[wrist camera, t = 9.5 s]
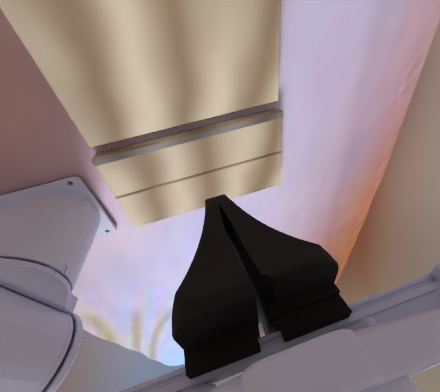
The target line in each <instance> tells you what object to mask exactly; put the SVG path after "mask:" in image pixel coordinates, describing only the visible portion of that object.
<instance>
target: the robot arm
mask: <svg viewBox="0 0 440 392" xmlns="http://www.w3.org/2000/svg"><path fill="white" fill-rule="evenodd" d="M69 181H71V182H72V183H73V184H70V183H69ZM107 229H108V230H107ZM116 229H117V228H116V226H115V224H114V223H113V222H112V220H111V219H110V218H109V216H108V215H107V213H106V212H105V211H104V209H103V208H102V207H101V205H100V204H99V202H98V201H97V200H96V198H95V197H94V196H93V194H92V193H91V191H90V190H89V189H88V187H87V186H86V185H85V183H84V182H83V181H82V179H81V178H80V177H77V176H73V177H69V178H65V179H62V180H58V181H54V182H50V183H46V184H43V185H39V186H35V187H31V188H27V189H24V190H20V191H16V192H12V193H8V194H4V195H1V196H0V392H55V391H56V390H57V388H58V387H59V386H60V384H61V383H62V381H63V379H64V378H65V377H66V375H67V373H68V371H69V370H70V368H71V366H72V364H73V362H74V360H75V357H76V355H77V352H78V349H79V346H80V343H81V338H82V332H83V325H82V321H81V319H80V317H79V316H78V315H77V314H74V313H73V310H74V308H75V305H76V303H77V300H78V298H77V297H75V296H74V295H73V294H72V290H73V288H74V285H75V283H76V281H77V278H78V276H79V274H80V271H81V269H82V266H83V264H84V262H85V259H86V257H87V255H88V252H89V250H90V247H91V245H92V243H93V240H94V238H96V237H100V236H103V235H106V234H110V233H113V232H115V231H116ZM338 267H339V266H338V263H337V262H336V261H335V260H334V259H333V258H332V256H331V255H330V254H329V253H328V252H327V251H325V250H324V249H323V248H322V247H321V246H320V245H318V244H315V243H311V242H308V241H304V240H301V239H298V238H295V237H292V236H289V235H287V234H284V233H282V232H280V231H277V230H275V229H273V228H271V227H269V226H267V225H265V224H263V223H262V222H260V221H258V220H257V219H255V218H253V217H252V216H250V215H249V214H248V213H246V212H245V211H243V210H242V209H241V208H240V207H238V206H237V205H236V204H235V203H234V202H233V201H231V200H230V199H229V198H228V197H227V196H226V195H225V194H222V195H219V196H216V197H212V198H209V199H206V200H205V219H204V226H203V231H202V235H201V239H200V242H199V245H198V248H197V251H196V254H195V256H194V259H193V261H192V263H191V265H190V268H189V270H188V272H187V274H186V276H185V278H184V280H183V281H182V283H181V285H180V287H179V288H178V290H177V292H176V294H175V298H174V303H173V311H172V336H173V338H174V340H175V341H176V342H177V343H178V344H179V345H180V346H181V347H182V348H183V349H184V356H185V367H183V368H180V369H177V370H175V371H172V372H169V373H167V374H164V375H161V376H159V377H156V378H154V379H151V380H148V381H146V382H143V383H140V384H138V385H135V386H133V387H130V388H127V389H125V390H122V391H120V392H421V391H420V390H419V389H418V387H417V386H416V385H415V383H414V382H413V381H412V380H411V378H410V377H411V376H414V375H416V374H418V373H421V372H423V371H425V370H427V369H429V368H432V367H434V366H436V365H438V364H440V262H439V263H438V264H436V265H435V266H434V267H433V268H432V269H431V270H430V271H429V274H426V275H423V276H421V277H418V278H415V279H413V280H410V281H407V282H405V283H402V284H400V285H397V286H394V287H392V288H389V289H387V290H384V291H381V292H379V293H376V294H373V295H371V296H368V297H366V298H363V299H360V300H358V301H355V302H352V303H350V304H346V303H345V301H344V300H343V299H342V298H341V296H340V295H339V293H340V291H339V289H338V288H337V286H336V285H335V284H334V281H335V278H336V276H337V273H338ZM258 315H259V318H260V321H261V324H262V327H263V330H264V333H265V336H264V337H261V338H260V333H259V326H258V323H259V319H258ZM243 371H244V372H243ZM240 372H243V374H241V375H239V376H237V377H235V378H233V379H231V380H229V381H227V382H225V383H223V384H221V385H219V386H217V387H216V385H215V384H212V383H214V382H217V381H220V380H222V379H225V378H227V377H230V376H233V375H235V374H238V373H240Z"/></svg>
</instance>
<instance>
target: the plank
mask: <svg viewBox="0 0 440 392" xmlns="http://www.w3.org/2000/svg"><path fill="white" fill-rule="evenodd" d="M0 9H1V10H2V12H3V13H4V15H5V16H6V18H7V19H8V21H9V23H10V24H11V26H12V27H13V29H14V30H15V32H16V33H17V35H18V37H19V38H20V40H21V41H22V43H23V44H24V46H25V47H26V49H27V51H28V52H29V54H30V55H31V57H32V58H33V60H34V61H35V63H36V65H37V66H38V68H39V69H40V71H41V72H42V74H43V75H44V77H45V79H46V80H47V82H48V83H49V85H50V86H51V88H52V89H53V91H54V93H55V94H56V96H57V97H58V99H59V100H60V102H61V103H62V105H63V107H64V108H65V110H66V111H67V113H68V114H69V116H70V118H71V119H72V121H73V122H74V124H75V125H76V127H77V128H78V130H79V132H80V133H81V135H82V136H83V138H84V139H85V141H86V142H87V144H88V146H89V147H90V148H91V147H95V146H99V145H103V144H107V143H111V142H115V141H119V140H123V139H127V138H131V137H135V136H139V135H143V134H147V133H151V132H155V131H159V130H163V129H167V128H171V127H175V126H179V125H183V124H187V123H191V122H195V121H199V120H203V119H207V118H211V117H215V116H219V115H223V114H227V113H231V112H235V111H239V110H243V109H247V108H251V107H255V106H259V105H263V104H267V103H271V102H275V101H278V87H279V50H280V12H281V0H0Z"/></svg>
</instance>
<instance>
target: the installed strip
mask: <svg viewBox="0 0 440 392" xmlns="http://www.w3.org/2000/svg"><path fill="white" fill-rule="evenodd" d="M282 118H283V111H282V110H279V109H276V108H275V109H271V110H267V111H263V112H259V113H255V114H251V115H247V116H243V117H239V118H235V119H231V120H228V121H224V122H220V123H216V124H212V125H208V126H204V127H200V128H196V129H192V130H188V131H184V132H180V133H176V134H172V135H169V136H165V137H161V138H157V139H153V140H149V141H145V142H141V143H137V144H133V145H129V146H125V147H121V148H117V149H113V150H110V151H106V152H102V153H98V154H96V155H95V156H94V157H93V158H92V159H91V161H92V162H93V164H94V166H96V168H97V169H98V171H99V173H100V174H101V176H102V177H103V179H104V180H105V182H106V183H107V185H108V187H109V188H110V190H111V191H112V193H113V194H114V196H115V197H116V199H117V201H118V202H119V204H120V205H121V207H122V208H123V210H124V211H125V213H126V214H127V216H128V218H129V219H130V221H131V222H132V224H133V225H134V227H138V226H142V225H145V224H149V223H152V222H155V221H159V220H162V219H165V218H169V217H172V216H175V215H179V214H182V213H185V212H189V211H192V210H195V209H199V208H202V207H205V200H206V199H209V198H212V197H216V196H219V195H222V194H225V195H226V196H227V197H228V198H229V199H232V198H236V197H239V196H242V195H246V194H249V193H252V192H256V191H259V190H263V189H266V188H269V187H273V186H276V185H279V184H281V153H282V151H281V146H282Z"/></svg>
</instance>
